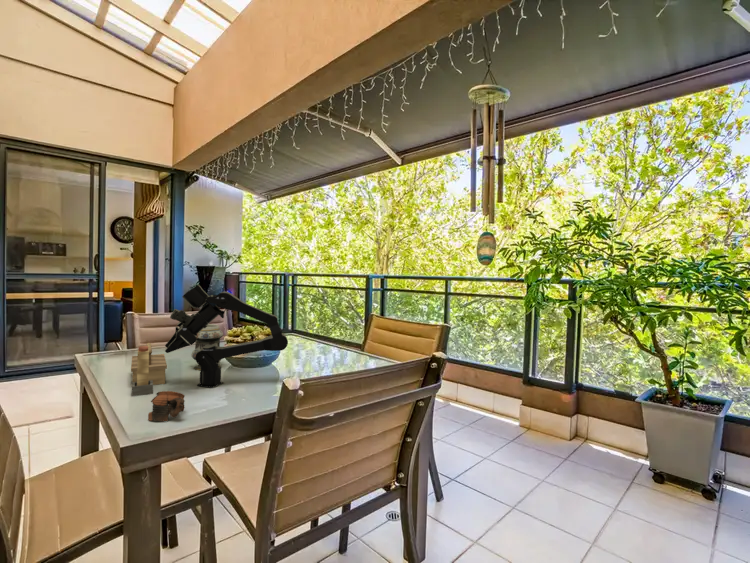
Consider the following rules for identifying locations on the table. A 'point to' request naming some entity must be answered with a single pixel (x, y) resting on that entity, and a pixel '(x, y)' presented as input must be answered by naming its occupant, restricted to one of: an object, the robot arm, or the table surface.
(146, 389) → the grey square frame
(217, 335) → the apothecary jar
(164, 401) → the brown black chunky piece
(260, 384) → the table surface
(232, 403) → the table surface
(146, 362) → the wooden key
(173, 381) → the table surface
